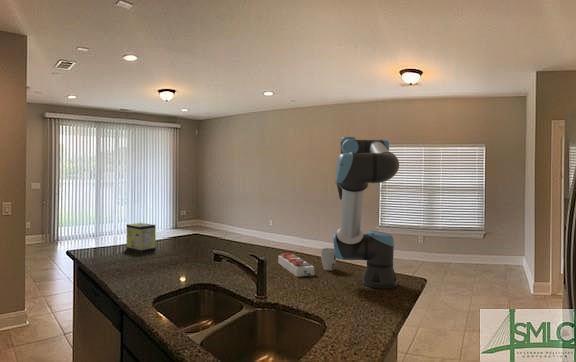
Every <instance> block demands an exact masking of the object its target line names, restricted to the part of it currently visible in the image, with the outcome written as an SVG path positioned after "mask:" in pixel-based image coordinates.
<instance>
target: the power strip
mask: <svg viewBox="0 0 576 362" xmlns="http://www.w3.org/2000/svg"><path fill="white" fill-rule="evenodd" d="M293 255H294V256H295V258H296V259H297V261H303V264H293V262H289V260H288V259H287V256H281V254H280V255H278V256H277V257H278V258H277V259H278V261H277V262H278V264H279V265H281V266H282V267H283V268H284V269H285V270H287V271H289V272H290V273H291V274H292V275H294V276H295V277H307V276H308V277H311V276H315V266H313V265H312V264H311V263H308V262H307V261H305V260H304V259H302V258H301V257H299V256H297V255H295V254H293Z"/></svg>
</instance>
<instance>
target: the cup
mask: <svg viewBox="0 0 576 362" xmlns="http://www.w3.org/2000/svg"><path fill="white" fill-rule="evenodd" d="M320 256H321V265H322V267H323V270H324V271H329V272H330V271H334V270H335V267H336V263H337V262H336V261H337V258H336V257H335V252H334V248H330V247H329V248H328V247H326V248H321V249H320Z"/></svg>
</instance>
